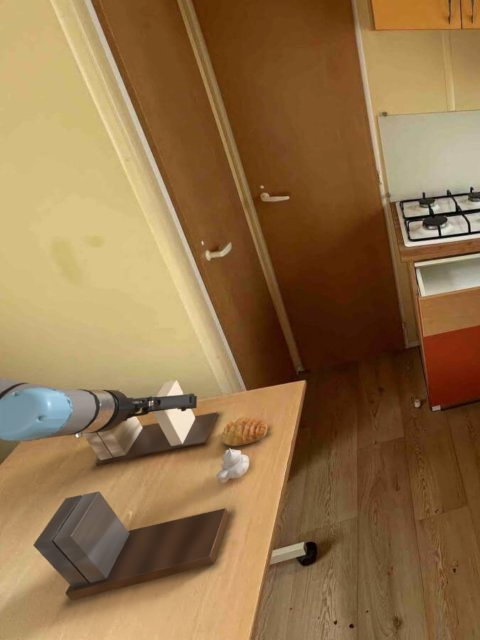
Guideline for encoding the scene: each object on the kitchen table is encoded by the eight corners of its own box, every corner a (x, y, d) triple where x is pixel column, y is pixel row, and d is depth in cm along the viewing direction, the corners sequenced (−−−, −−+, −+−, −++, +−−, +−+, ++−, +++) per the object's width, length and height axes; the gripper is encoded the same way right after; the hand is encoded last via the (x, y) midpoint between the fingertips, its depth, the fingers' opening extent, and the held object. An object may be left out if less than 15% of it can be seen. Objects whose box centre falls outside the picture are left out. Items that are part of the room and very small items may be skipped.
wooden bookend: (96, 466, 96) (67, 423, 90) (119, 433, 104) (93, 391, 98) (205, 444, 101) (184, 402, 95) (218, 414, 109) (200, 374, 103)
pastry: (273, 423, 107) (269, 412, 105) (261, 446, 101) (257, 435, 99) (235, 425, 106) (230, 415, 104) (220, 448, 100) (215, 438, 99)
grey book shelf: (71, 601, 73) (24, 551, 66) (102, 545, 81) (63, 495, 74) (214, 564, 78) (184, 514, 71) (230, 515, 86) (204, 465, 79)
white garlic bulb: (258, 466, 96) (247, 443, 92) (230, 492, 91) (218, 468, 87) (241, 458, 98) (230, 434, 94) (214, 482, 93) (201, 458, 89)
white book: (171, 446, 100) (149, 407, 94) (184, 420, 107) (165, 381, 101) (182, 444, 100) (161, 404, 94) (195, 418, 107) (176, 379, 101)
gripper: (3, 449, 72) (94, 437, 92) (171, 418, 78) (222, 413, 98) (10, 403, 74) (97, 402, 94) (172, 377, 80) (222, 381, 100)
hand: (161, 408), depth 96 cm, fingers open, 13 cm apart
